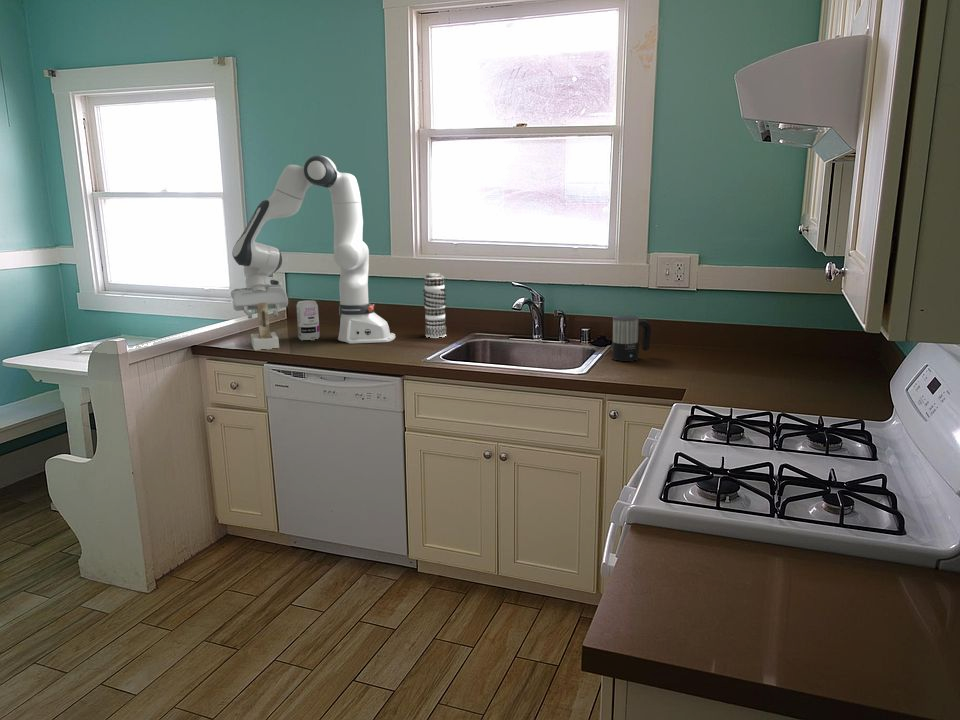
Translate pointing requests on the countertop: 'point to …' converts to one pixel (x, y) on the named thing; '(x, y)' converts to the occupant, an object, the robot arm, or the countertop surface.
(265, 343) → the white rectangular tray
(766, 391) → the countertop surface
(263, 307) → the beige wooden block
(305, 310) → the supplement can
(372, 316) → the robot arm
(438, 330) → the decorative candle
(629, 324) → the milk frother
